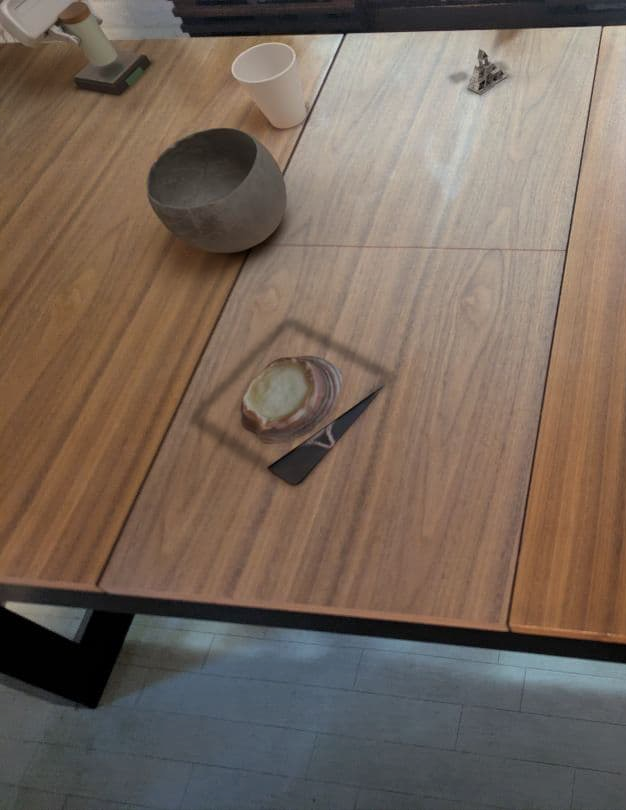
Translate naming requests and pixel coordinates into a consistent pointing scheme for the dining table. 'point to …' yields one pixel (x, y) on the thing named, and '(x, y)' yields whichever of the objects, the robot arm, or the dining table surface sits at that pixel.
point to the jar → (88, 34)
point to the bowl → (218, 190)
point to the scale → (113, 73)
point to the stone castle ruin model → (485, 75)
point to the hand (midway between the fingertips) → (89, 34)
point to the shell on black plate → (297, 411)
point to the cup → (272, 82)
